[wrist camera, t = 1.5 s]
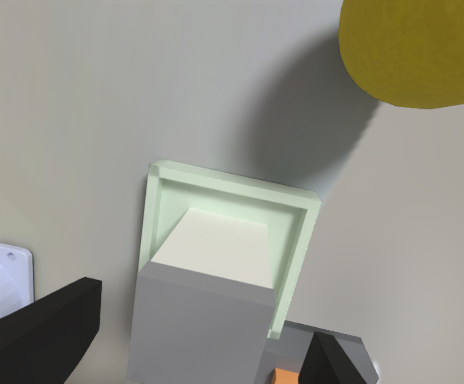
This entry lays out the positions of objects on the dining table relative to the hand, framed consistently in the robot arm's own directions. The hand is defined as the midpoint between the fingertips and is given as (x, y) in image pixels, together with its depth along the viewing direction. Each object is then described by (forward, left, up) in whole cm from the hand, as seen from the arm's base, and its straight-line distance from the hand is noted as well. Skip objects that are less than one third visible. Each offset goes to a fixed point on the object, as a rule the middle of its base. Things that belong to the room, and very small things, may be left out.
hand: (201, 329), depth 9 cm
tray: (0, 0, -6) cm, 6 cm away
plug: (0, 0, -5) cm, 5 cm away
